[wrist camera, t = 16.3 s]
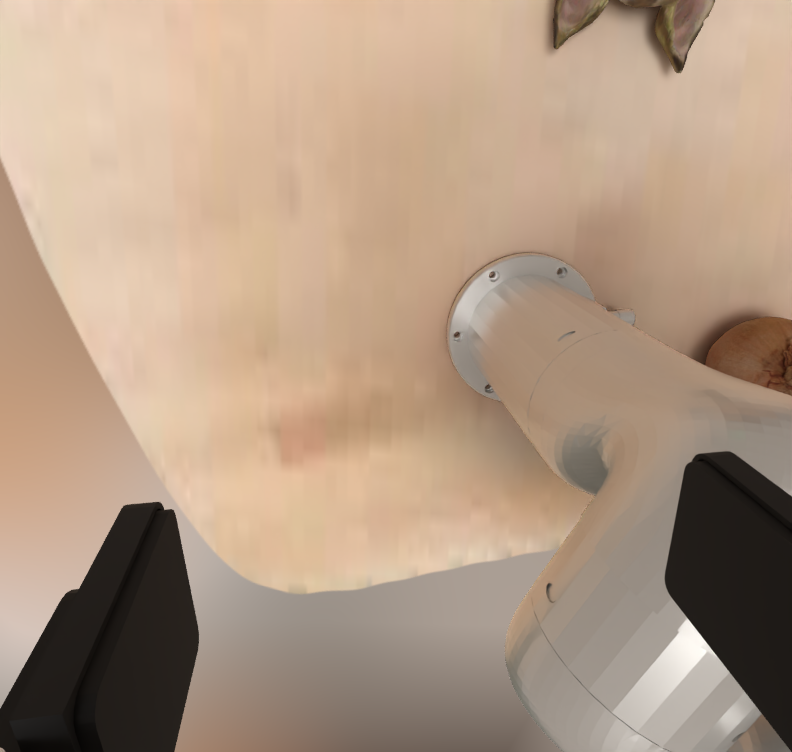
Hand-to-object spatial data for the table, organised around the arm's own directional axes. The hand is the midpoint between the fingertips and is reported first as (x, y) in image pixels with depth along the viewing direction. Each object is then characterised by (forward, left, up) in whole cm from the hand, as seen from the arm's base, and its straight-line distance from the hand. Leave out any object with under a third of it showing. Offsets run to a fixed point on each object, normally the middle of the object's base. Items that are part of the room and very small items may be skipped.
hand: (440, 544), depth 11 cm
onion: (-34, +12, -37) cm, 51 cm away
